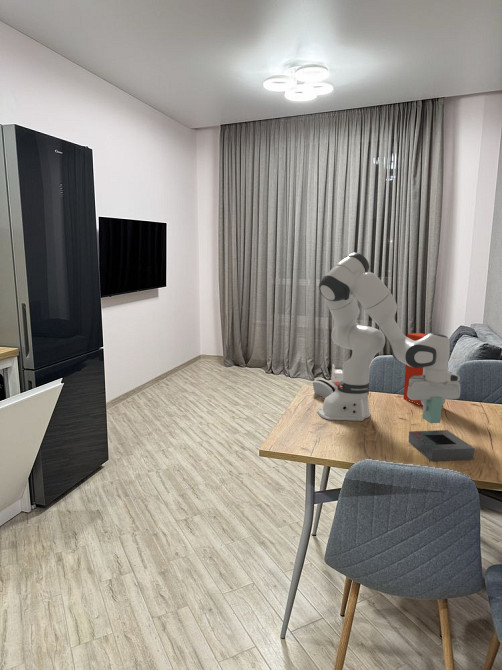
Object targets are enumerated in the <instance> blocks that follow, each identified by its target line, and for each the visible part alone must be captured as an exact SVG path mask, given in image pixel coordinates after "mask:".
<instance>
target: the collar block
mask: <svg viewBox="0 0 502 670" xmlns="http://www.w3.org/2000/svg"><path fill="white" fill-rule="evenodd" d="M408 443H409V444H410V445H412V446H413V448H415V449H416V450H418V451H419V452H420V453H422V455H424V456H425V457H426V458H427V459H428V460H429V461H431V462H445V461H446V462H447V461H448V462H449V461H470V460H471V461H472V460H474V458H475V447H473V446H472V445H470V444H469V443H467V442H466V441H464V440H463V439H462V438H460V437H458V436H457V435H455V434H453V433H452V432H451V431H450V430H448V429H442V430H440V429H439V430H437V429H436V430H413V431H410V430H409V432H408Z"/></svg>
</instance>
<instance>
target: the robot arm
mask: <svg viewBox="0 0 502 670" xmlns="http://www.w3.org/2000/svg"><path fill="white" fill-rule="evenodd" d="M318 284H319V285H318V289H319V292H320V294H321V296H322V297H324V300H325V303H326V305H327V308H328V309H329V311H330V314H331V317H332V319H333V322H334V326H333V328H332V331H331V332H330V333H331V335H330V336H331V340H332V343H333V344H334V345H337V346H338V347H341V348H342V349H347V350H351V351H352V354H351V356H350V358H349V359H346V361H344V362H343V364H342V372H343V373H342V381H341V382H340V383H339V382H338V381H335V382H334V384H335V385H336V386H337V390H336V391H335V392H333V393H332V394H330V395H329V396H327V397H326V398H324V400H323V404H322V406H321V407H318V409H317V413H318V415H319V416H320V417H321V418H323V419H326V420H328V421H355V422H357V421H358V422H361V421H364V420H365V419H367V418H370V417H371V412H370V411H371V410H370V406H369V395H370V383H369V381H370V380H369V377H370V369H371V368H370V367H371V364H372V361H373V360H374V357H375V356H376V355H377V354H378V353H380V352H381V351H382V350H383V349H384V347H385V344H386V339H387V342H388V343H389V349H390V353H391V356H392V358H393V359H394V360H396V361H397V362H399V363H402V364H404V365H405V366H406V365H408V366H410V367H413V368H422V367H423V375H421V376H413V377H411V378H410V379H409V386H408V391H407V396H408V398H409V399H411V400H421V403H422V405H423V406H422V411H423V410H424V411H428V410H429V409H428V408H429V406H427V405H426V403H425V402H427V400H431V397H442V406H443V407H444V404H445V403H446V400H458V399H459V398H460V396H461V382H460V380H461V376H460V375H459V374H456V373H453V372H452V371H449V365H448V364H449V363H448V362H449V360H450V351H451V349H450V347H451V344H450V339H449V337H448V336H446V335H444V334H442V333H441V334H440V333H437V332H428V333H427V335H426V336H425V337H423V338H421V339H419V340H416V341H414V340H412V339H410V338H408V337H407V335H405V334H404V333H403V331H402V329H401V328H400V327H399V324H398V323H397V321H396V319H395V317H394V316H395V315H396V313H397V311H398V304H397V301H396V299H395V297H394V296H393V294H392V293H391V291H390V290H389V289H388V287H387V286H386V285H385V283H384V282H383V280H381V279H380V278H379V277H378V276H377V275H376V274H375V273H373V272H371V271H370V263H369V262H368V259H367V258H366V257H365V256H364V255H362V254H361V253H358V252H352V253H350V254H348V255H346V256H345V257H344V258H343V259H341V260H340V261H339V262H337V263H336V264H335V265H334V266H333V267H332V268H331V269H330V271H328V272H327V274H326V275H325V276H323V277H322V279H321V280H320V282H319V283H318ZM355 298H356V299H357V300H358V302H359V304H360V305H361V306H362V308H363V310H364V311H365V312H366V313H367V315H368V316H369V317H370V318H371V320H373V321H374V323H376V324H377V326H378V327H379V328H380V329H377V328H375V327H373V326H369V325H368V326H367V325H362V324H360V323H358V322H357V319H358V318H359V316H360V313H361V310H360V307H359V305H358V302H357V300H356V299H355ZM443 407H442V408H441V411H442V409H443Z"/></svg>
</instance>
